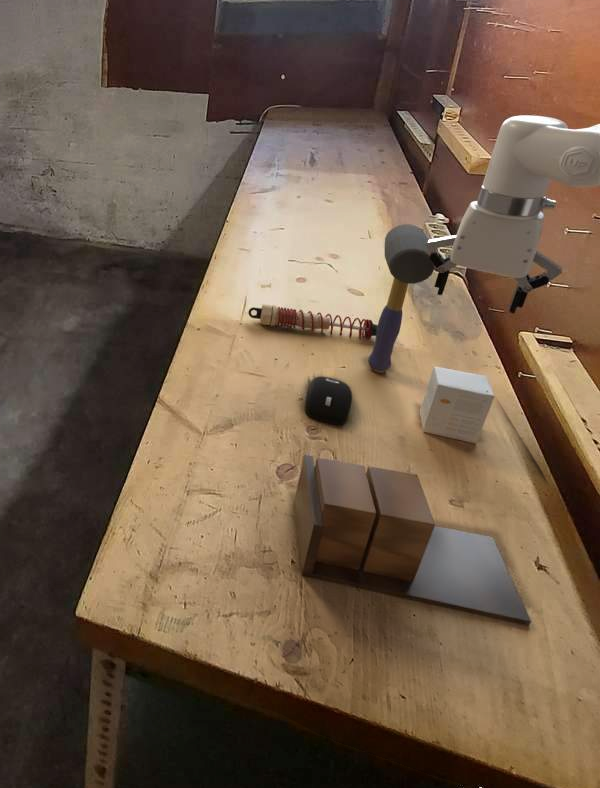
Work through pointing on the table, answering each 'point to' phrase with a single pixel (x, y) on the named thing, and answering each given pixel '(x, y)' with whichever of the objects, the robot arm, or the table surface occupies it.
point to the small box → (456, 404)
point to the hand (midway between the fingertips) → (475, 300)
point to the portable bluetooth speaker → (328, 400)
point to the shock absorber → (309, 320)
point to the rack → (395, 542)
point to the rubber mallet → (399, 286)
